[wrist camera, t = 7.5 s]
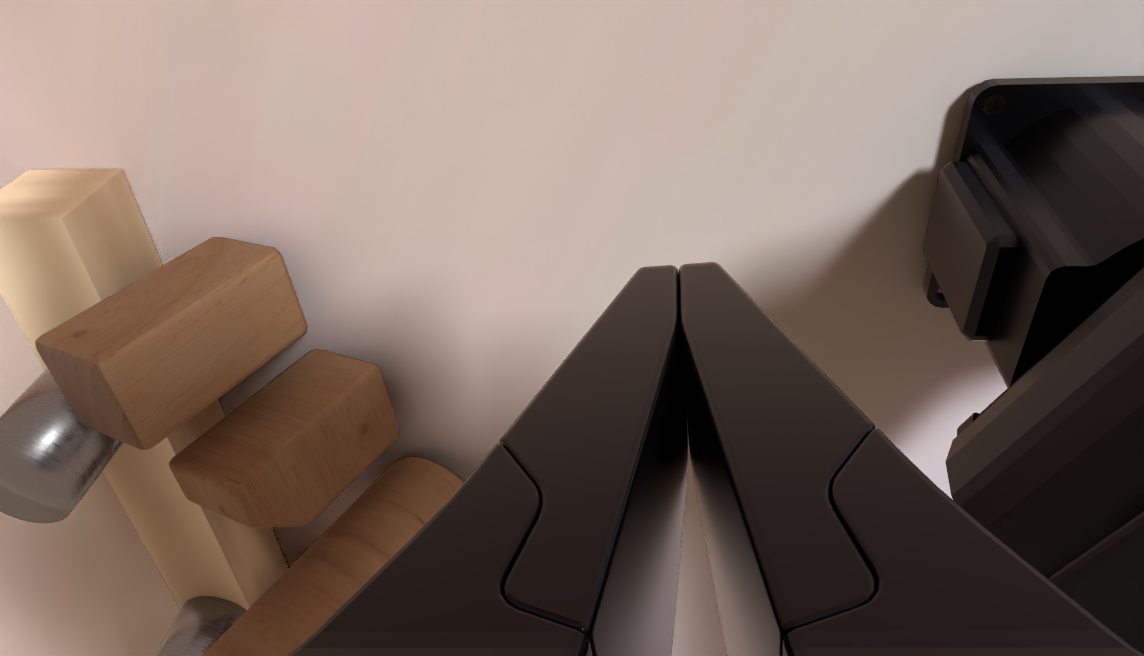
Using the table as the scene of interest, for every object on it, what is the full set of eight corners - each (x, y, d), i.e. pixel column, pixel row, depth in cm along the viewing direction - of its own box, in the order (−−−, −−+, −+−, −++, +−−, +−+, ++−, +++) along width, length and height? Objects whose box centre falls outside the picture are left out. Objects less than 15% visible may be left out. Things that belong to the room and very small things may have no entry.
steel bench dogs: (175, 295, 27) (43, 448, 21) (294, 580, 36) (223, 741, 30) (89, 294, 27) (-62, 445, 21) (228, 577, 36) (146, 735, 30)
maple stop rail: (122, 169, 24) (61, 218, 22) (318, 640, 38) (295, 702, 36) (28, 169, 24) (-42, 218, 22) (257, 636, 39) (230, 697, 36)
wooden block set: (216, 203, 27) (-111, 380, 20) (416, 237, 23) (93, 474, 16) (360, 563, 37) (173, 766, 30) (518, 631, 33) (345, 885, 26)
